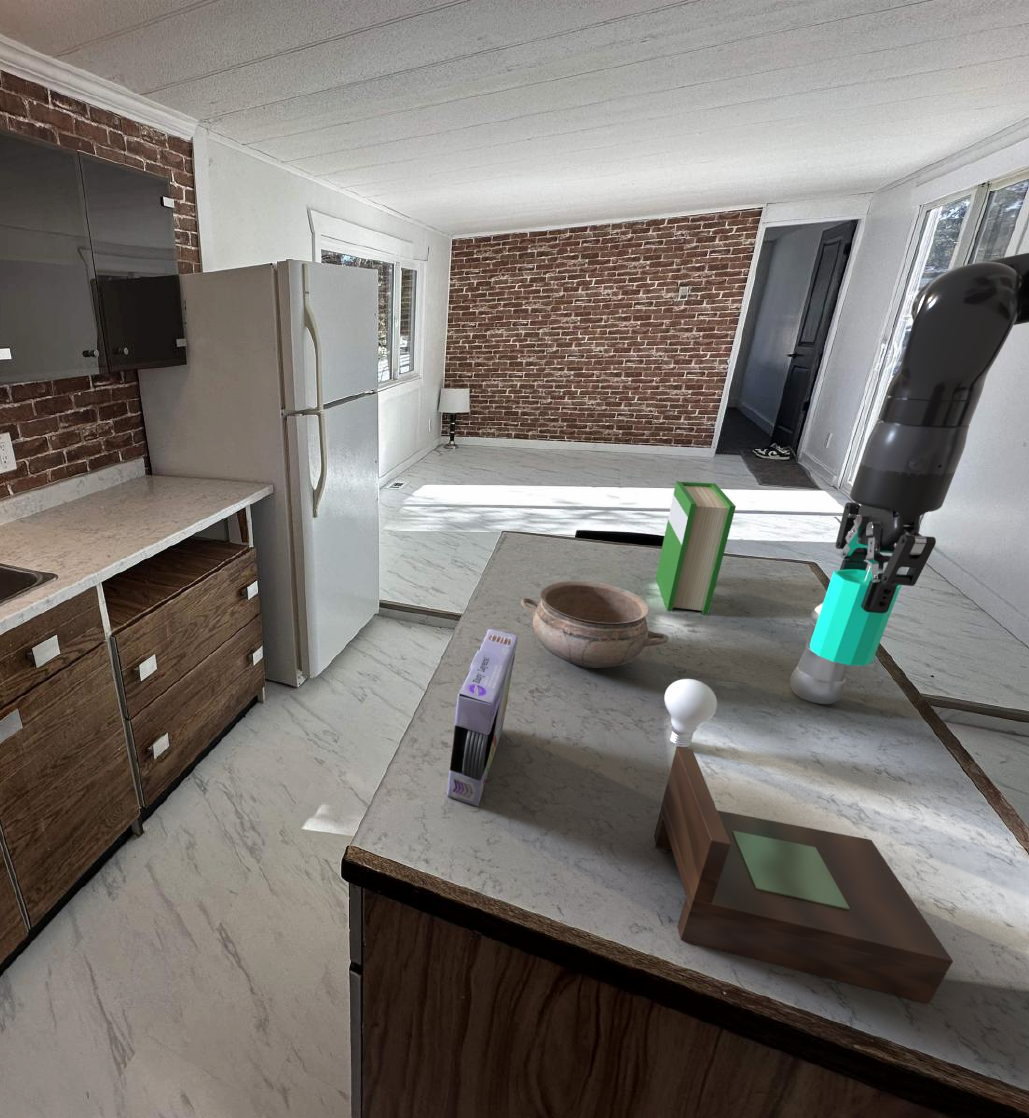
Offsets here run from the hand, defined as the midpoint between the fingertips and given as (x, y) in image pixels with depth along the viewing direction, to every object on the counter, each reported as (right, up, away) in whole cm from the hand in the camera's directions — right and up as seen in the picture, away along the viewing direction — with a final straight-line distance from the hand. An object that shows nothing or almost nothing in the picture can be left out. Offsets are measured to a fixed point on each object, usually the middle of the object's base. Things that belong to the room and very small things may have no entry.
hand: (859, 598), depth 72 cm
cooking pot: (-14, -14, +40) cm, 44 cm away
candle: (0, -7, +3) cm, 8 cm away
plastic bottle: (+17, -18, +26) cm, 36 cm away
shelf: (-17, -33, -7) cm, 38 cm away
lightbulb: (-11, -23, +17) cm, 31 cm away
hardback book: (+19, -4, +62) cm, 65 cm away
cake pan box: (-42, -25, +15) cm, 51 cm away
